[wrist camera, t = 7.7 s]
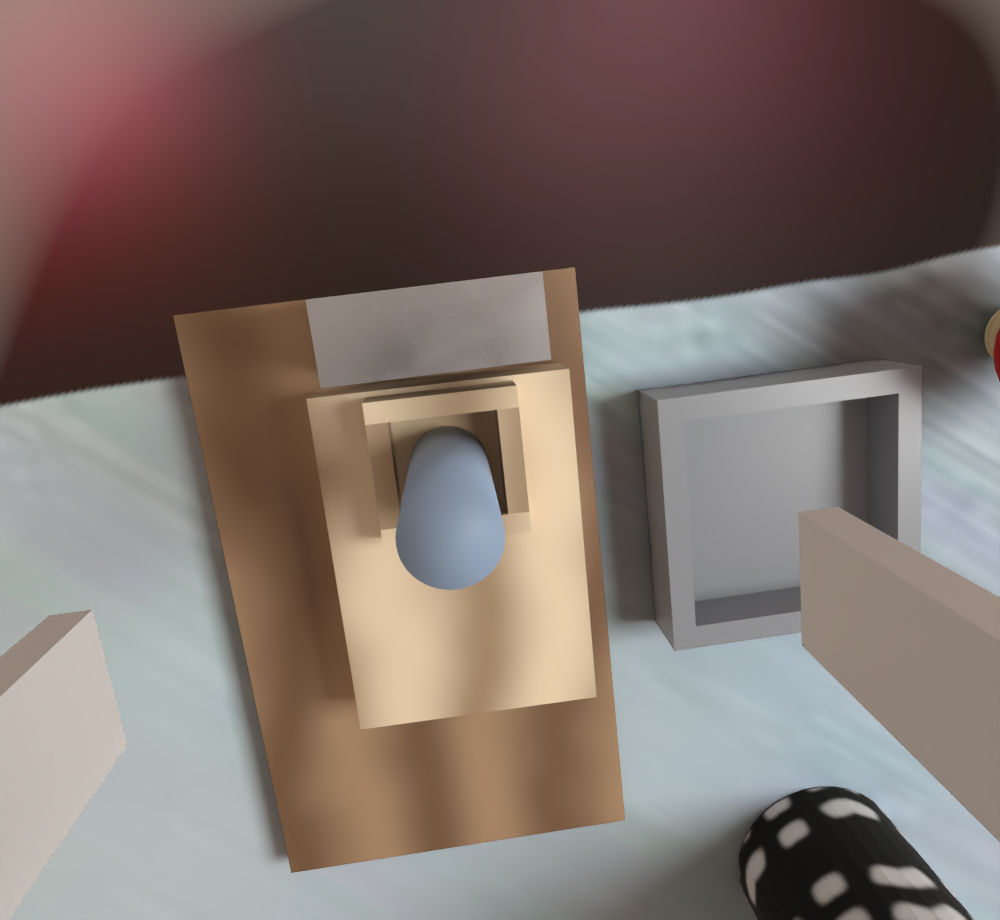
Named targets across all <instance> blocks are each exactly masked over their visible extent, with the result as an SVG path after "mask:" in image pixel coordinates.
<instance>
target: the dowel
mask: <svg viewBox="0 0 1000 920" xmlns="http://www.w3.org/2000/svg"><path fill="white" fill-rule="evenodd" d="M395 540H396V548H397V552H398V555H399V558H400V560H401V562H402V564H403V565H404V567H405V568H406V569H407V571H408V572H409V573H410V574H411V575H412V576H413V577H415V578H416V579H417V580H419V581H420V582H422V583H424V584H426V585H428V586H431V587H434V588H437V589H443V590H456V589H462V588H466V587H469V586H472V585H474V584H476V583H478V582H480V581H481V580H483V579H484V578H485V577H487V576H488V575H489V574H490V573H491V572H492V571H493V570H494V568H495V567H496V565H497V564H498V562H499V560H500V558H501V556H502V553H503V550H504V546H505V529H504V524H503V520H502V516H501V512H500V508H499V504H498V500H497V496H496V491H495V487H494V483H493V479H492V475H491V471H490V467H489V463H488V459H487V455H486V452H485V449H484V447H483V445H482V443H481V442H480V441H479V439H478V438H477V437H476V436H475V435H473V434H472V433H471V432H469V431H467V430H465V429H463V428H460V427H456V426H442V427H438V428H435V429H432V430H430V431H429V432H427V433H425V434H424V435H423V436H422V437H421V438H420V439H419V440H418V441H417V443H416V444H415V446H414V448H413V450H412V453H411V458H410V463H409V468H408V473H407V478H406V483H405V488H404V493H403V498H402V503H401V508H400V513H399V518H398V523H397V529H396V538H395Z"/></svg>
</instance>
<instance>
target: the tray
mask: <svg viewBox="0 0 1000 920" xmlns="http://www.w3.org/2000/svg"><path fill="white" fill-rule="evenodd" d="M922 369H923V366H920V365H914V364H908V363H902V362H896V361H891V360H885V359H876V360H868V361H861V362H853V363H845V364H837V365H829V366H822V367H814V368H806V369H798V370H791V371H783V372H775V373H767V374H760V375H752V376H744V377H736V378H728V379H721V380H713V381H705V382H697V383H690V384H682V385H674V386H666V387H659V388H651V389H643V390H638V396H639V409H640V423H641V436H642V449H643V463H644V476H645V489H646V503H647V516H648V530H649V543H650V556H651V570H652V583H653V596H654V610H655V621H656V623H657V624H658V626H659V628H660V629H661V631H662V632H663V634H664V635H665V637H666V638H667V640H668V641H669V643H670V645H671V646H672V648H673V649H674V651H677V650H684V649H691V648H697V647H704V646H711V645H718V644H725V643H731V642H738V641H745V640H752V639H759V638H765V637H772V636H779V635H786V634H793V633H799V632H802V627H801V589H800V552H799V514H798V512H804V511H811V510H819V509H826V508H833V507H839V508H841V509H843V510H844V511H846V512H848V513H850V514H851V515H853V516H855V517H857V518H859V519H860V520H862V521H864V522H866V523H868V524H869V525H871V526H873V527H875V528H876V529H878V530H880V531H882V532H884V533H885V534H887V535H889V536H891V537H893V538H894V539H896V540H898V541H900V542H901V543H903V544H905V545H907V546H909V547H910V548H912V549H914V550H916V551H918V552H919V553H920V533H921V451H922Z"/></svg>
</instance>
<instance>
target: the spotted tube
mask: <svg viewBox="0 0 1000 920" xmlns="http://www.w3.org/2000/svg"><path fill="white" fill-rule="evenodd" d="M738 869H739V879H740V882H741V885H742V888H743V891H744V893H745V895H746V897H747V899H748V901H749V903H750V905H751V907H752V909H753V911H754V913H755V915H756V917H757V919H758V920H974V919H973V917H972V916H971V915H970V914H969V913H968V911H967V910H966V909H965V908H964V907H963V906H962V904H961V903H960V902H959V901H958V900H957V898H956V897H955V896H954V895H953V894H952V893H951V891H950V890H949V889H948V888H947V887H946V885H945V884H944V883H943V882H942V881H941V880H940V878H939V877H938V876H937V875H936V874H935V872H934V871H933V870H932V869H931V868H930V867H929V865H928V864H927V863H926V862H925V861H924V859H923V858H922V857H921V856H920V855H919V854H918V852H917V851H916V850H915V849H914V848H913V846H912V845H911V844H910V843H909V842H908V841H907V839H906V838H905V837H904V836H903V835H902V833H901V832H900V831H899V830H898V829H897V828H896V826H895V825H894V824H893V823H892V822H891V820H890V819H889V818H888V817H887V816H886V815H885V813H884V812H883V811H882V810H881V809H880V808H879V807H878V806H877V805H876V804H875V803H874V802H873V801H872V800H870V799H869V798H867V797H865V796H864V795H862V794H860V793H857V792H855V791H852V790H849V789H844V788H838V787H818V788H813V789H808V790H803V791H800V792H798V793H795V794H793V795H790V796H788V797H786V798H784V799H783V800H781V801H779V802H777V803H776V804H774V805H773V806H772V807H770V808H769V809H768V810H767V811H766V812H764V813H763V814H762V815H761V816H760V817H759V819H758V820H757V821H756V822H755V823H754V825H753V826H752V827H751V829H750V831H749V832H748V834H747V836H746V838H745V839H744V842H743V845H742V848H741V851H740V856H739V864H738Z"/></svg>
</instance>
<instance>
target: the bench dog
mask: <svg viewBox="0 0 1000 920" xmlns="http://www.w3.org/2000/svg"><path fill="white" fill-rule="evenodd" d="M306 306H307V312H308V318H309V324H310V329H311V335H312V341H313V347H314V353H315V359H316V364H317V370H318V376H319V382H320V388H329V387H337V386H345V385H353V384H361V383H369V382H377V381H385V380H393V379H401V378H409V377H417V376H425V375H433V374H441V373H449V372H457V371H465V370H472V369H480V368H488V367H496V366H504V365H512V364H520V363H528V362H536V361H544V360H551V351H550V341H549V332H548V322H547V312H546V302H545V292H544V282H543V272H542V271H541V272H532V273H523V274H515V275H507V276H499V277H490V278H482V279H473V280H465V281H456V282H448V283H440V284H431V285H423V286H415V287H406V288H399V289H390V290H381V291H373V292H365V293H357V294H348V295H341V296H332V297H323V298H315V299H307V300H306Z"/></svg>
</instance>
